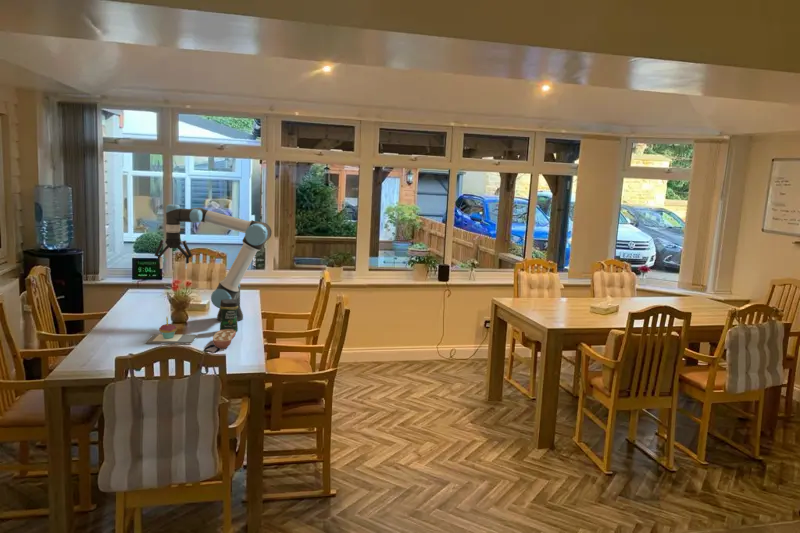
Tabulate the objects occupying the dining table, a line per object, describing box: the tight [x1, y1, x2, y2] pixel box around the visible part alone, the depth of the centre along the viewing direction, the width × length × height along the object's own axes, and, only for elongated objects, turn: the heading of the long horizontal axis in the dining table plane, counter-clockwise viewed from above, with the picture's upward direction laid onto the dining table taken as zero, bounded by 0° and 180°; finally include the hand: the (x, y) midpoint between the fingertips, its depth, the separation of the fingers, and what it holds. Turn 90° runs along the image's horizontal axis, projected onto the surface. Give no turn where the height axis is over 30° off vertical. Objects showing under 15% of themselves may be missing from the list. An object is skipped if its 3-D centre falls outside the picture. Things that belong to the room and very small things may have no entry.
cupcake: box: [158, 316, 178, 339], centre depth 305 cm, size 9×8×12 cm
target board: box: [145, 333, 198, 345], centre depth 306 cm, size 22×14×2 cm, turn 97°
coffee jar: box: [219, 299, 239, 333], centre depth 325 cm, size 10×8×19 cm
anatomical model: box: [212, 329, 237, 349], centre depth 303 cm, size 23×10×5 cm, turn 7°
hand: (173, 268), depth 336 cm, fingers open, 13 cm apart
